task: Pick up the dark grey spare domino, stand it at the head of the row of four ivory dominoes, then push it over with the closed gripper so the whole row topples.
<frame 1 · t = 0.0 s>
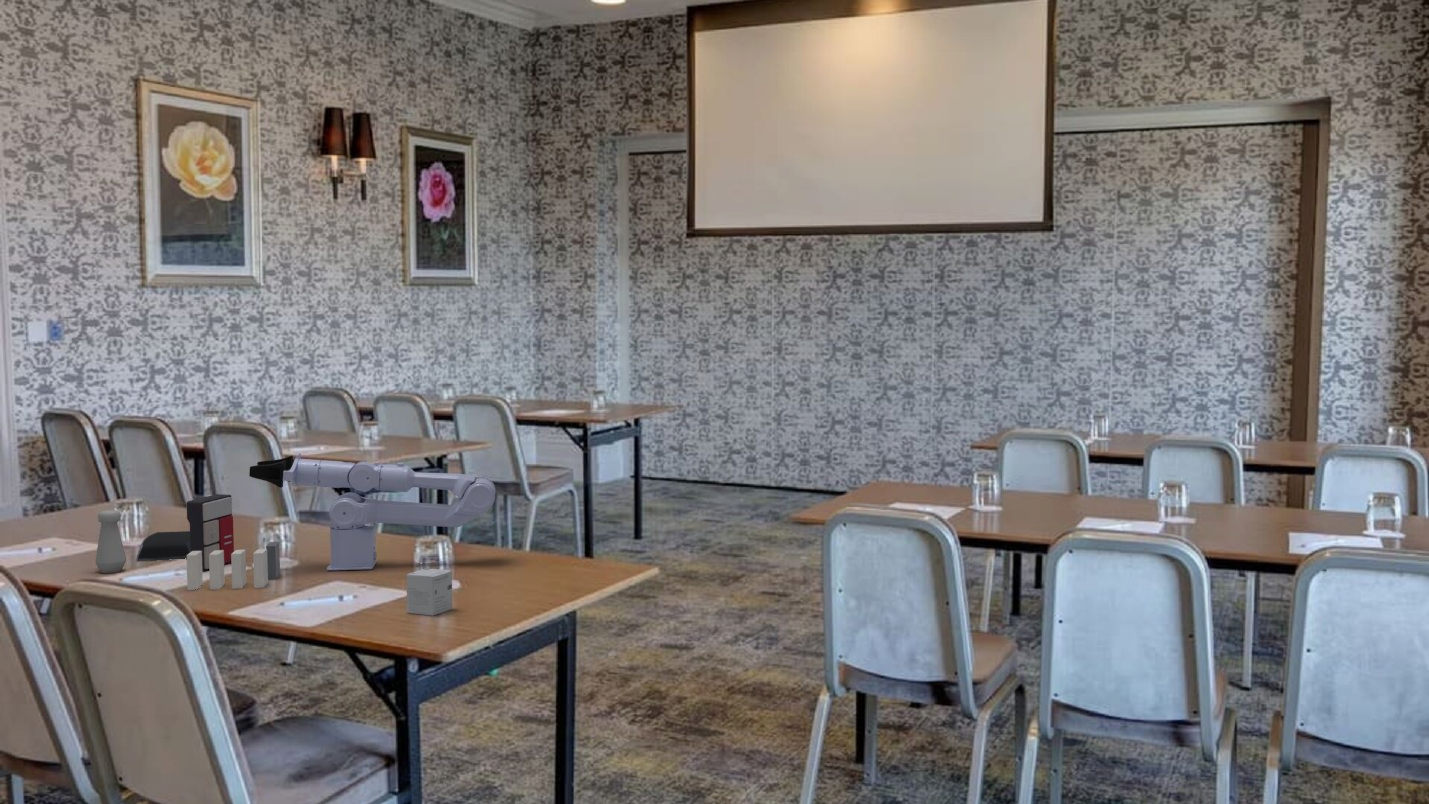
hand: (253, 469, 257), 22 cm above the table, tool horizontal, fingers open, 7 cm apart
tile 5: (195, 587, 242), on the table
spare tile: (273, 577, 252), on the table
tile 2: (261, 585, 244), on the table
skincare box: (429, 612, 224), on the table
tile 4: (217, 586, 243), on the table
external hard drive: (172, 555, 278), on the table
tile 3: (239, 586, 244), on the table
salt shaker: (111, 572, 257), on the table
calculator: (212, 567, 262), on the table
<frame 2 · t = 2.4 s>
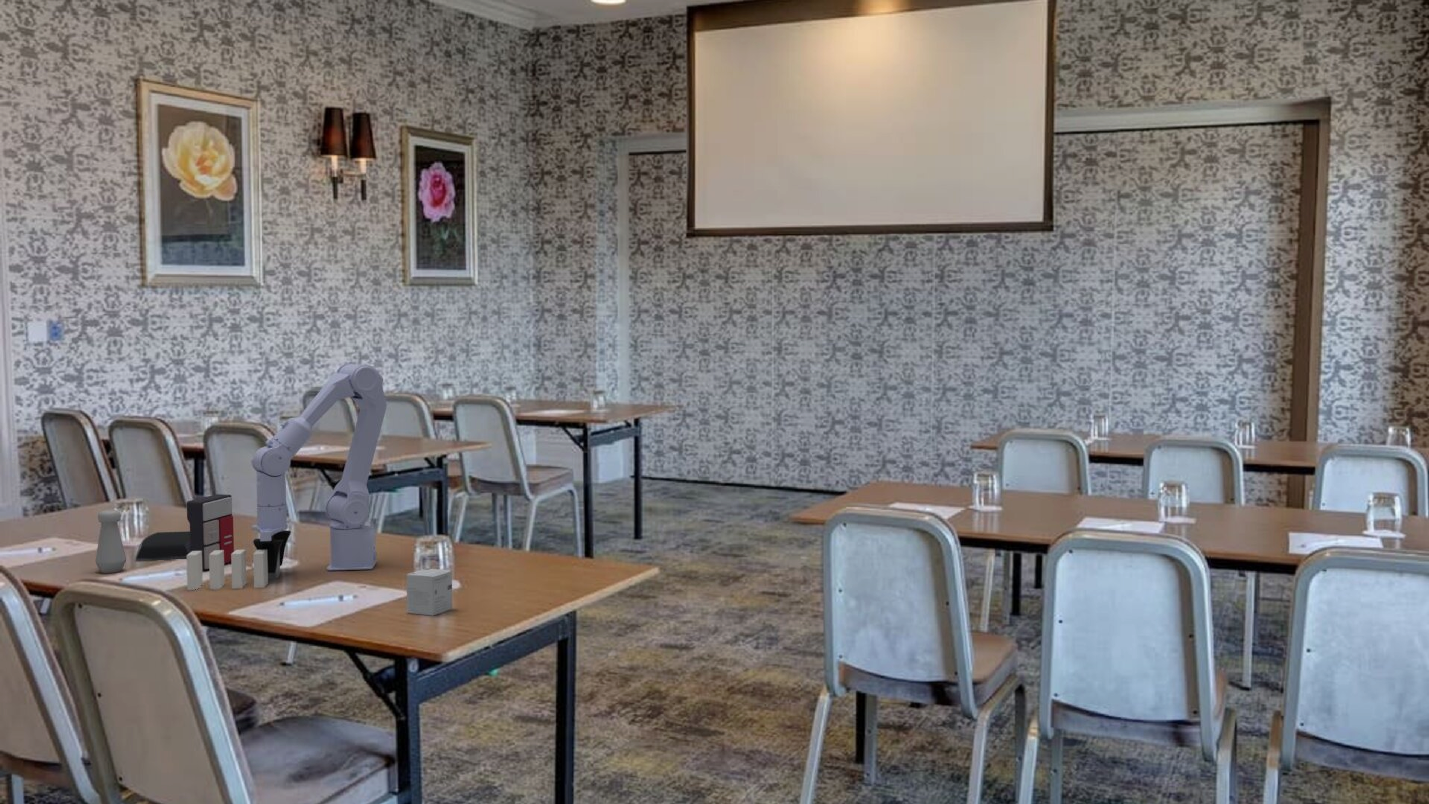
hand: (273, 569, 252), 2 cm above the table, tool pointing down, fingers open, 6 cm apart
tile 2: (261, 585, 244), on the table, touching gripper
everything else where it was.
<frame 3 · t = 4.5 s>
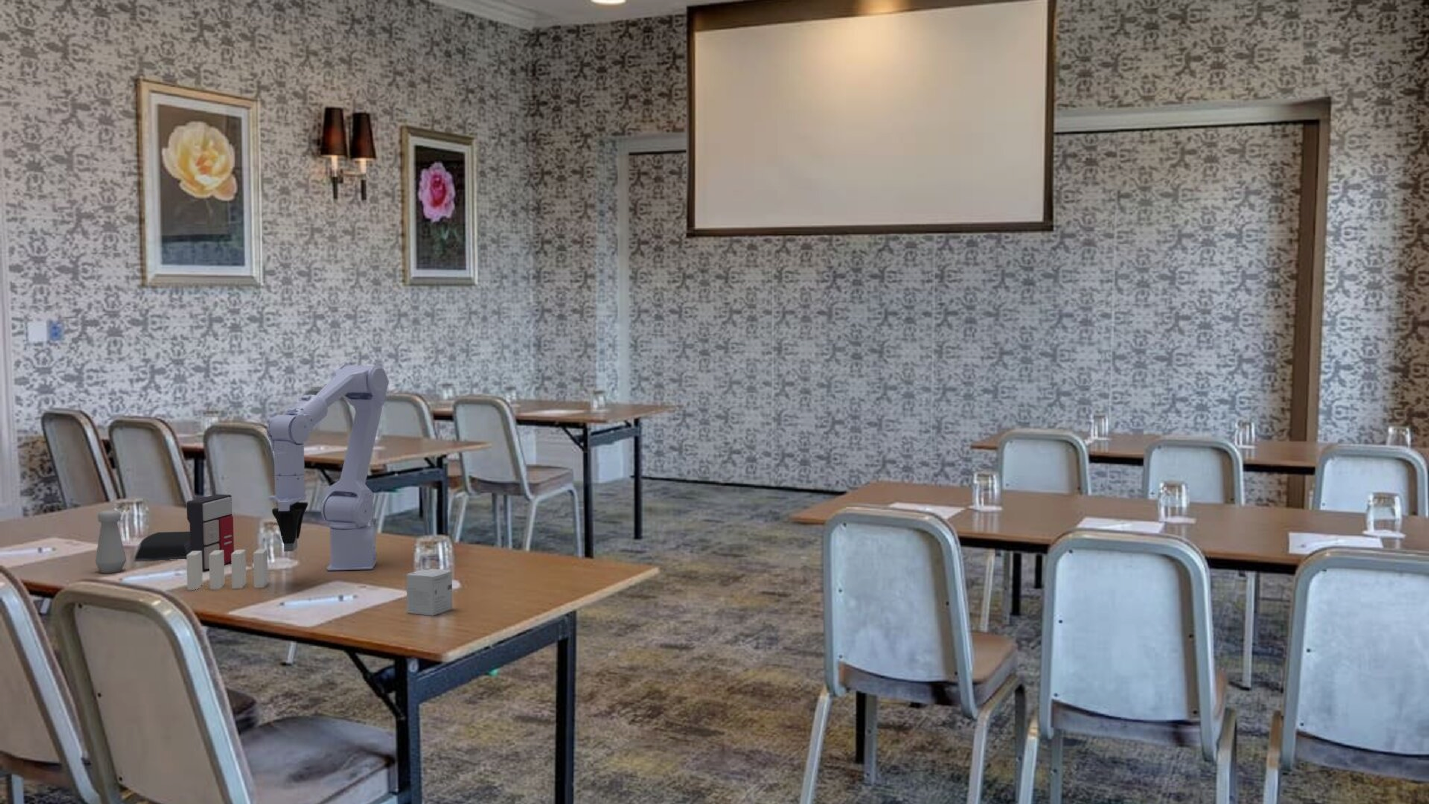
hand: (291, 540, 245), 9 cm above the table, tool pointing down, fingers closed on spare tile, 4 cm apart
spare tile: (290, 549, 245), point 7 cm above the table, touching gripper
tile 2: (261, 585, 244), on the table
everything else where it was.
when the fingers open (2 cm above the table, at t = 6.2 s): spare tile stays where it is, on the table.
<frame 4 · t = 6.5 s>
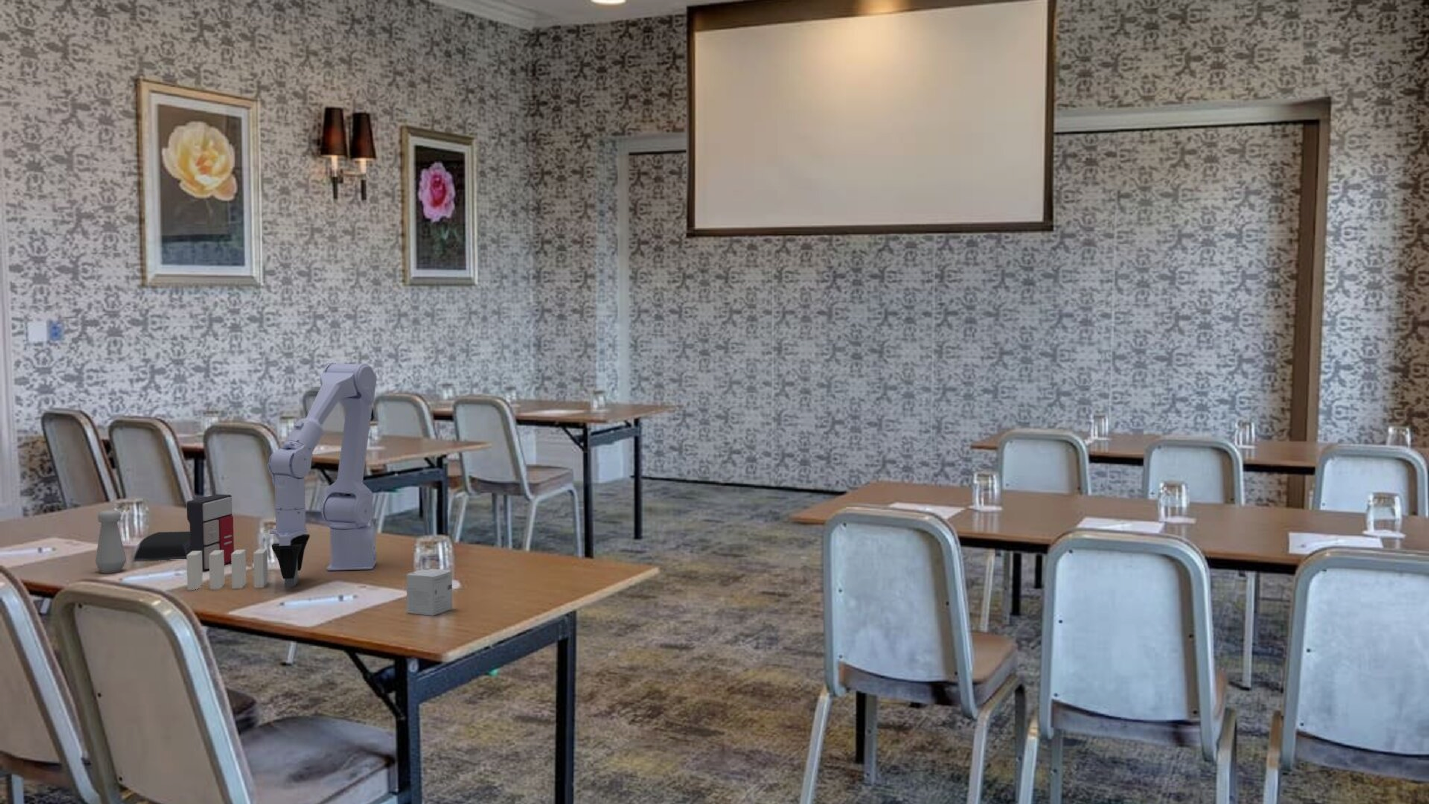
hand: (291, 574, 245), 2 cm above the table, tool pointing down, fingers open, 7 cm apart
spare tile: (291, 584, 245), on the table
everything else where it was.
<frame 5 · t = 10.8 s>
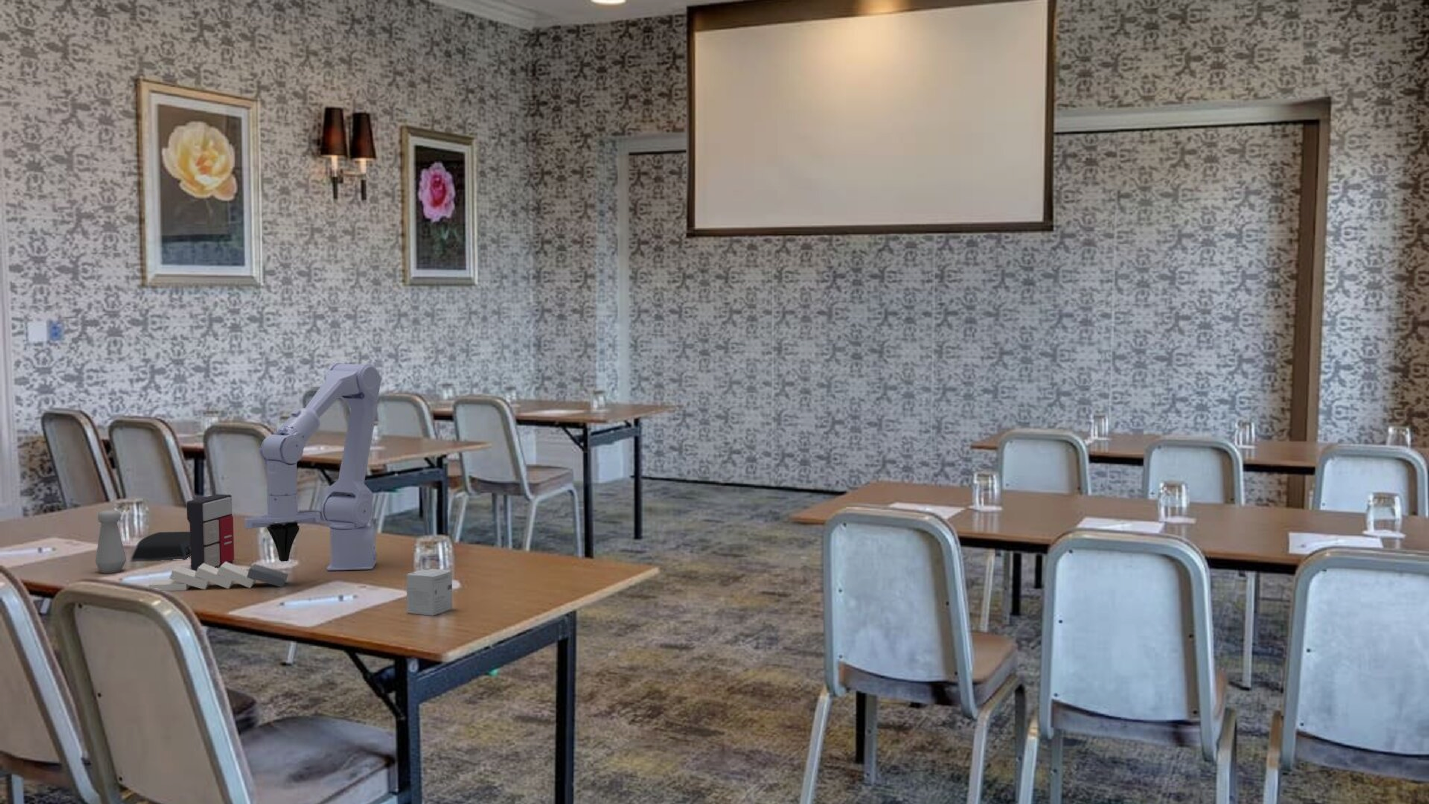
hand: (283, 560, 245), 5 cm above the table, tool pointing down, fingers closed
tile 5: (189, 585, 242), on the table, tilted 90°, touching tile 4
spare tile: (285, 580, 245), point 1 cm above the table, tilted 71°, touching tile 2
tile 2: (254, 581, 244), point 1 cm above the table, tilted 64°, touching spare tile, tile 3
tile 4: (208, 582, 243), point 1 cm above the table, tilted 70°, touching tile 5
tile 3: (232, 582, 243), point 1 cm above the table, tilted 66°, touching tile 2
everything else where it was.
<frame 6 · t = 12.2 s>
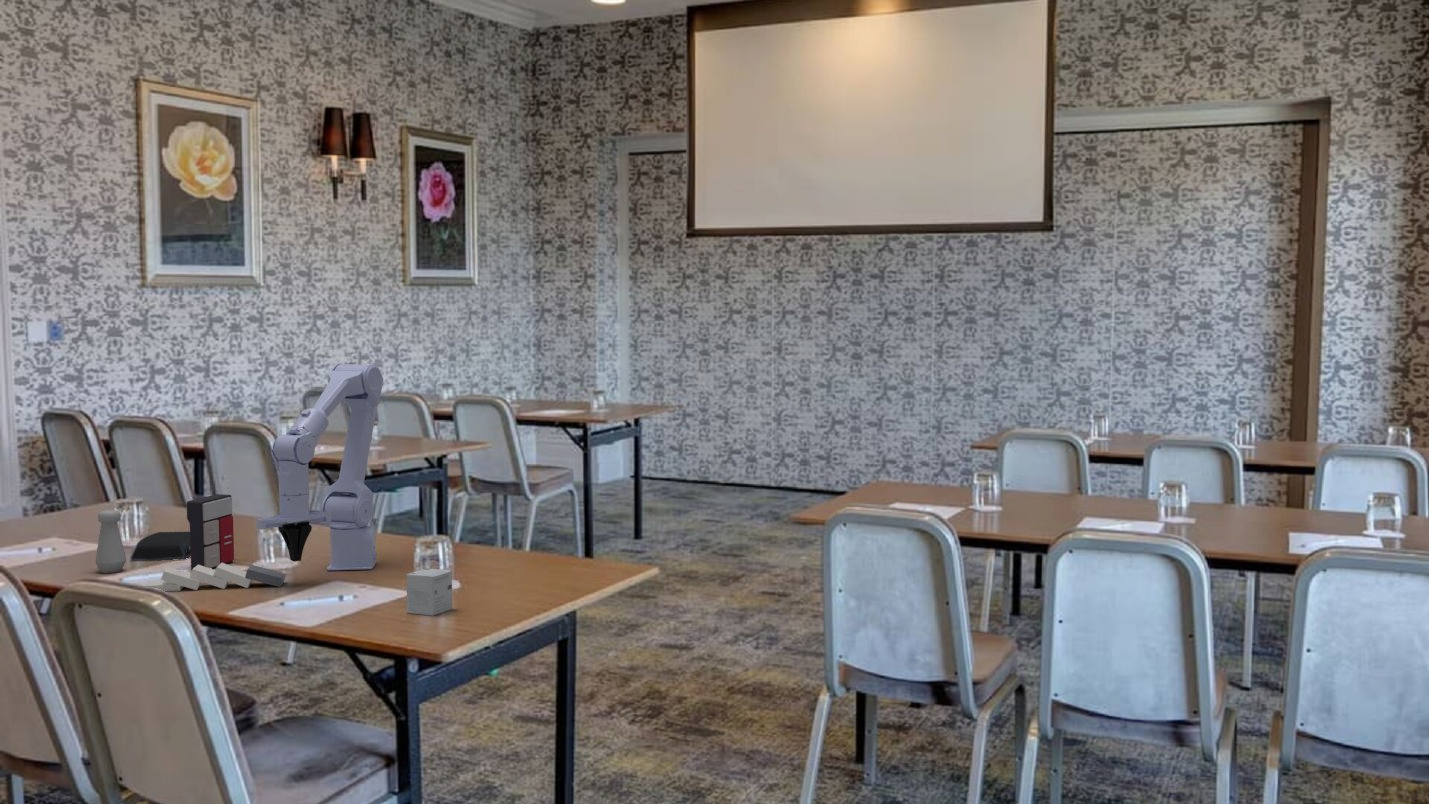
hand: (295, 560, 245), 5 cm above the table, tool pointing down, fingers closed
tile 5: (183, 586, 242), on the table, tilted 90°, touching tile 4
tile 4: (200, 583, 242), point 1 cm above the table, tilted 70°, touching tile 3, tile 5
tile 3: (228, 582, 243), point 1 cm above the table, tilted 68°, touching tile 2, tile 4
everything else where it was.
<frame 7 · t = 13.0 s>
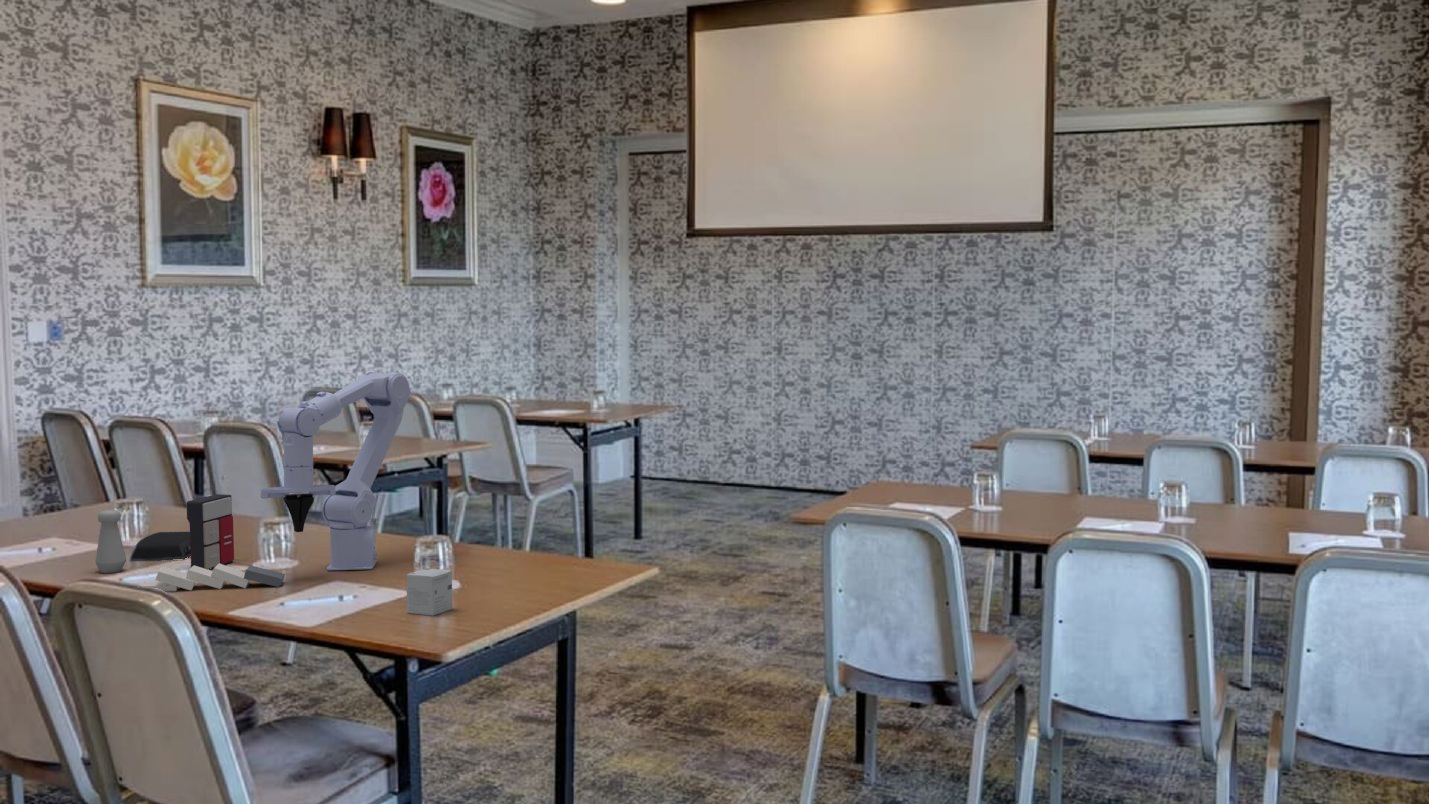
hand: (298, 531, 250), 10 cm above the table, tool pointing down, fingers closed
tile 5: (179, 587, 241), on the table, tilted 90°
tile 4: (194, 583, 242), point 1 cm above the table, tilted 69°
tile 3: (224, 582, 243), point 1 cm above the table, tilted 70°, touching tile 2
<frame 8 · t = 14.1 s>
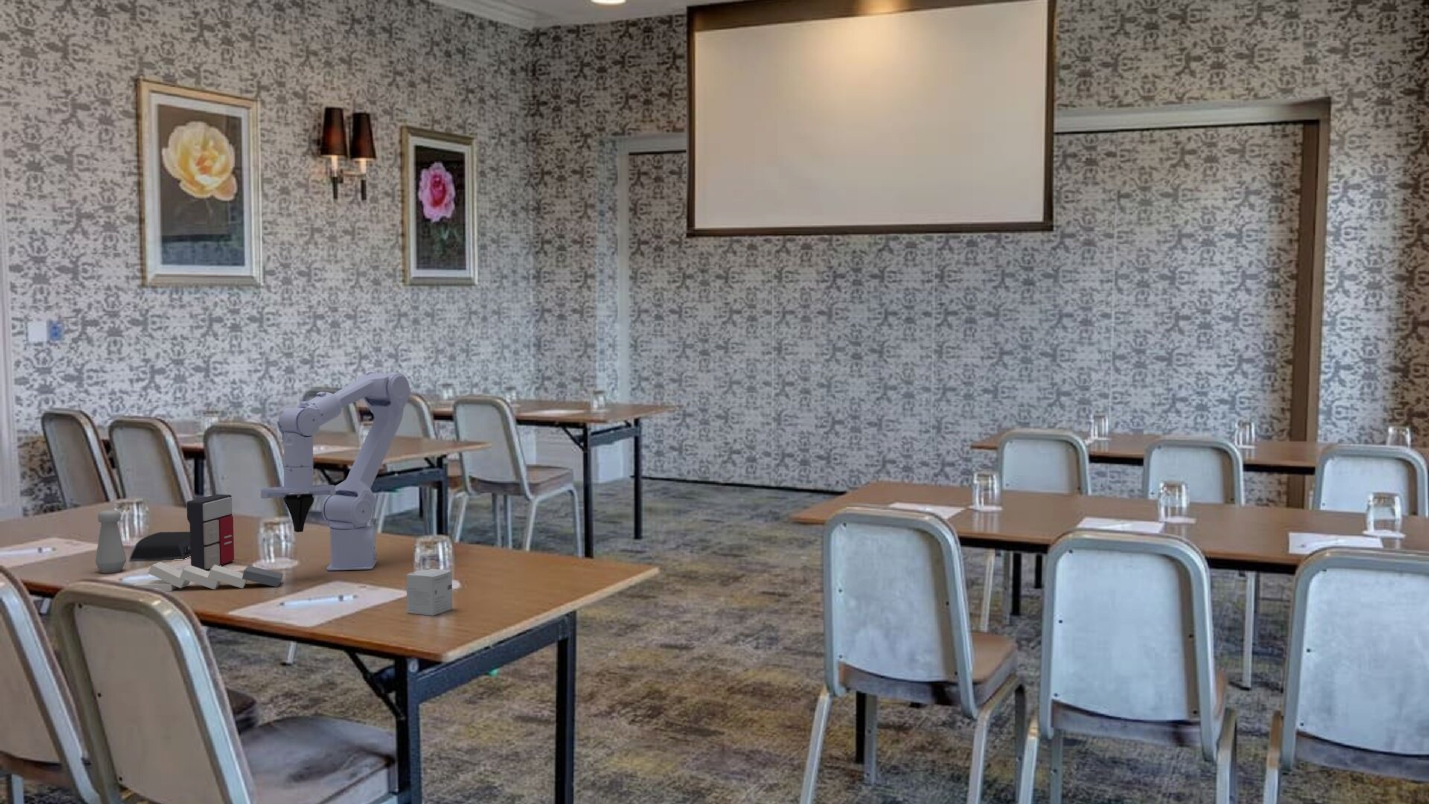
hand: (298, 531, 250), 10 cm above the table, tool pointing down, fingers closed
tile 5: (174, 586, 241), on the table, tilted 90°, touching tile 4
tile 4: (186, 582, 242), point 1 cm above the table, tilted 64°, touching tile 5
tile 3: (219, 582, 243), point 1 cm above the table, tilted 69°, touching tile 2
at the end: tile 5 tilted 90°; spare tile tilted 73°; the gripper is holding nothing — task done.
